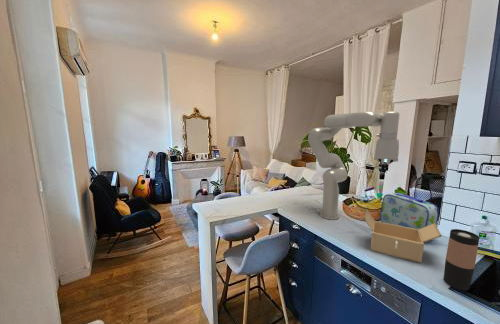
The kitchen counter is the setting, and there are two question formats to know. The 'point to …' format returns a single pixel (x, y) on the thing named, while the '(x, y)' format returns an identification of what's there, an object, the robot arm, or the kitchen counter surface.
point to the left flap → (369, 219)
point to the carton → (397, 241)
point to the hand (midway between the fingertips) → (384, 171)
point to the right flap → (429, 232)
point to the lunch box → (408, 211)
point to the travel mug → (460, 258)
